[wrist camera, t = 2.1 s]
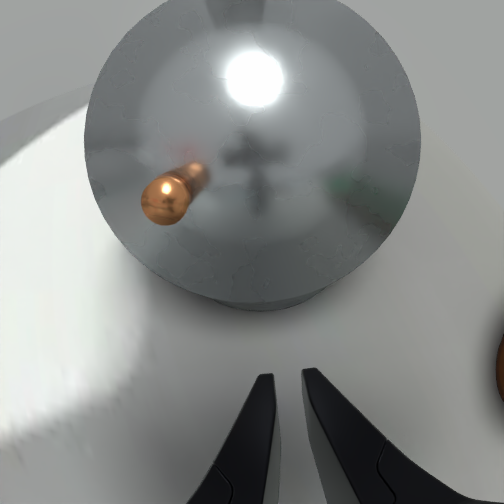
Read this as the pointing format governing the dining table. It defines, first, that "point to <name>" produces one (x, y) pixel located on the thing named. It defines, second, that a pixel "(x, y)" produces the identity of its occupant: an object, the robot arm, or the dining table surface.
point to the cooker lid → (252, 144)
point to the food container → (500, 369)
